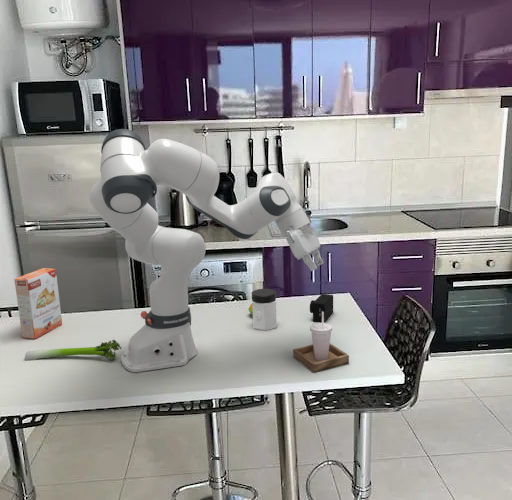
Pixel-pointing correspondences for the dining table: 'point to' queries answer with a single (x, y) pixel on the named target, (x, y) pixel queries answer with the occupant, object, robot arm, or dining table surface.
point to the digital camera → (322, 307)
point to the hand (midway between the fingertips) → (317, 267)
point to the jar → (264, 309)
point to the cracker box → (38, 302)
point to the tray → (308, 360)
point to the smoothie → (321, 339)
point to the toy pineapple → (251, 309)
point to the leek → (76, 351)
